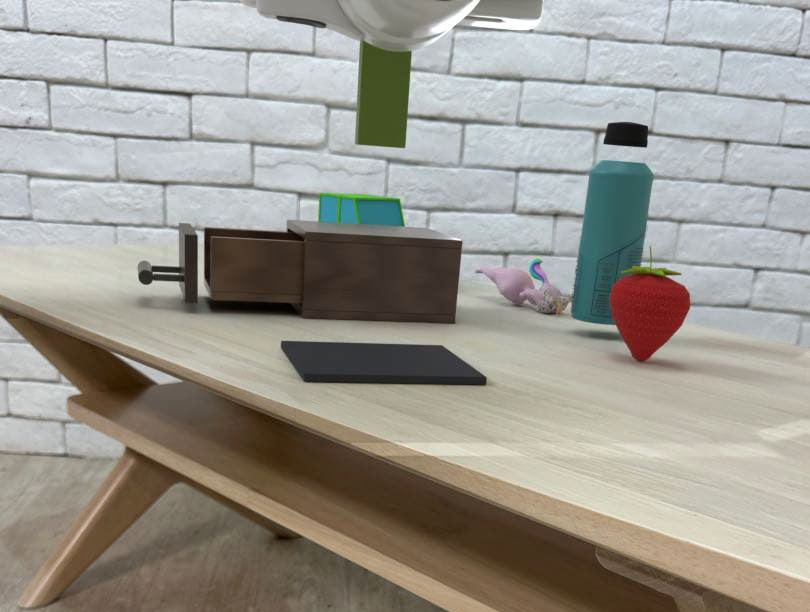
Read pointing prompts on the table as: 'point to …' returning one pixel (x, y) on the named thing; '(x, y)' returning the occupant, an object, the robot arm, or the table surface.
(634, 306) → the strawberry
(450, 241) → the cabinet
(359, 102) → the tall olive green pillar
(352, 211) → the blue green-edged box
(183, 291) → the drawer
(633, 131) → the beverage bottle
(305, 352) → the mat
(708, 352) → the table surface
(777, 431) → the table surface
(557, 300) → the pink elongated figure
